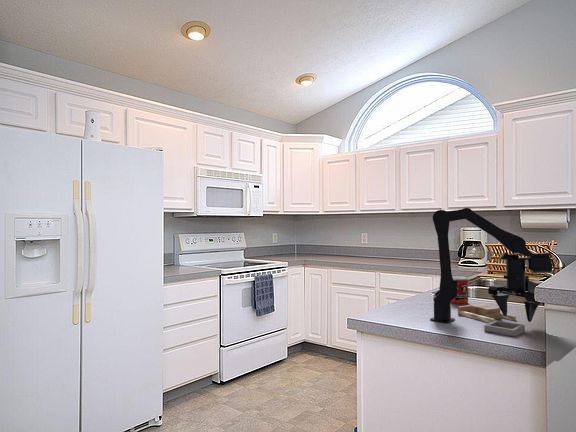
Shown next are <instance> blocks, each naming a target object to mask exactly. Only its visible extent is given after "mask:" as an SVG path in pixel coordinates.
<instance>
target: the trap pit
mask: <svg viewBox="0 0 576 432" xmlns="http://www.w3.org/2000/svg"><path fill="white" fill-rule="evenodd" d="M483 327H484V328H483V329H484V333H485V332H486V333H491V334H497V335H502V336H506V337H507V336H508V337H513V338H515V337H517V336H519V335H521V334H522V333H525V331H526V329H525V327H526V326H525V324H520V323H515V322H509V321H504V320H503V321H501V320H498V319H495V321H493V322H490V323H488V322H487V323H485V324H484V325H483Z"/></svg>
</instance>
